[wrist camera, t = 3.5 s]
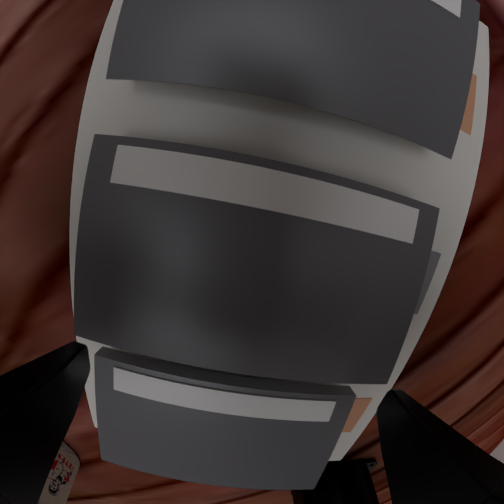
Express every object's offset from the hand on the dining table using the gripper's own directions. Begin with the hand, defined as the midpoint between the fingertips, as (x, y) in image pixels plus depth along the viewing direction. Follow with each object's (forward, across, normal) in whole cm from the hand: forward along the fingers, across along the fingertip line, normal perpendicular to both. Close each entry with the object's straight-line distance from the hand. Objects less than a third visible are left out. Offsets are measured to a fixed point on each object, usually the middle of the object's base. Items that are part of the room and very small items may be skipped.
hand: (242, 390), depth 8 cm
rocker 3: (+3, 0, +7) cm, 7 cm away
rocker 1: (+3, 0, -11) cm, 12 cm away
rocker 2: (+3, 0, -2) cm, 4 cm away
